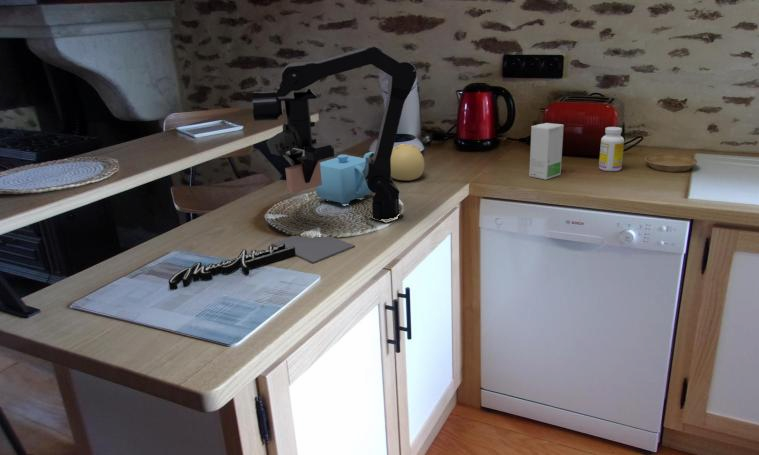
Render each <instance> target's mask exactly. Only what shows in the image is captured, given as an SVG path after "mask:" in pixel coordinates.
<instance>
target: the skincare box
mask: <svg viewBox="0 0 759 455" xmlns="http://www.w3.org/2000/svg"><path fill="white" fill-rule="evenodd" d="M564 127H565V125H564V124H561V123H551V122H545V123H539V124H536V125H531V129H530V130H531V131H530V150H529V151H530V152H529V171H528V176H529V177H530V178H536V179H540V180H545V181H547V180H549V179H553V178H554V177H558V176H561V172H562V159H563V158H562V157H563V156H562V155H563V143H564V142H563V141H564Z"/></svg>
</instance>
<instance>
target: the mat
mask: <svg viewBox="0 0 759 455" xmlns="http://www.w3.org/2000/svg"><path fill="white" fill-rule="evenodd" d="M281 244H285V249H286V248H289V247H295V253H296V254H295V255H294V256H295V257H298V258H299V259H302V260H304V261H306V262H309V263H311V264H316V263H319V262H322V261H324V260H326V259H329V258H330V257H333V256H336V255H338V254H341V253H343V252H346V251H348V250H351V249H354V248H355V247H356V245H355V244H353V243H350V242H347V241H344V240H342V239H339V238H337V237H334V236H332V237H314V238H308V237H300V236H294V235H291V236H289V237H285V238H282V239H281V240H277V241H274V242H271V244H270V246H273V247H277V246H279V245H281Z"/></svg>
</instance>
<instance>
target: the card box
mask: <svg viewBox="0 0 759 455" xmlns="http://www.w3.org/2000/svg"><path fill="white" fill-rule="evenodd" d="M320 162H321V160H319V161H318V163H317V165H316V167H315V170H314V172H313V175H312V177H311V180H310V182H309V183H305V179H304V175H303V169H302V164H299V165H295V166H293V165H292V166H289V167H288V166H287V167H285V168H284V169H285V176H286V178H285V179H286V186H287V187H286V188H287V193H290V194H295V193H299V192H303V191H305V190H309V189H313V188H316V186H319V185H322V180H321V168H320Z"/></svg>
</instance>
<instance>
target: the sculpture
mask: <svg viewBox="0 0 759 455" xmlns="http://www.w3.org/2000/svg"><path fill="white" fill-rule="evenodd" d="M420 150H421V147H419V146H416V145H414V144H406V143H401V144H398V145H397V146H395V147H394V146H393V150H392V155H391V178H392V179H395V180H398V181H413V180H417V179H419V178H421V176H422V174H423V173H424V170H425V158H424V155H423V154H422V152H421V151H420Z"/></svg>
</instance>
